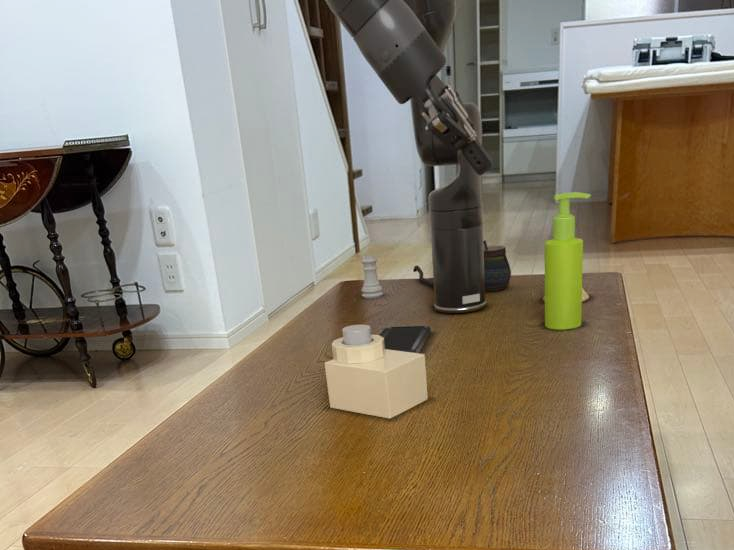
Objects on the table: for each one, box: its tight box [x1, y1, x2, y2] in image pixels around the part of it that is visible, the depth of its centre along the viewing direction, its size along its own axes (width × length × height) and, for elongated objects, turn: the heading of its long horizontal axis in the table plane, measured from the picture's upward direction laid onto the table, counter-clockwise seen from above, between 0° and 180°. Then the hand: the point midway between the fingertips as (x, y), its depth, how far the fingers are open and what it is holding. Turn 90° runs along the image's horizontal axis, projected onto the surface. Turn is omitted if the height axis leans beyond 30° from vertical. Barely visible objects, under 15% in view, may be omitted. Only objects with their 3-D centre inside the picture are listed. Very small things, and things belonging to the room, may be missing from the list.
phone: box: [378, 325, 431, 354], centre depth 131 cm, size 8×1×15 cm
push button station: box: [324, 333, 429, 419], centre depth 105 cm, size 11×8×8 cm
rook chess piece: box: [360, 253, 384, 300], centre depth 165 cm, size 4×4×8 cm
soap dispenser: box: [544, 191, 592, 331], centre depth 130 cm, size 6×7×20 cm
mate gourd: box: [483, 239, 512, 293], centre depth 161 cm, size 7×8×10 cm
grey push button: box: [341, 324, 372, 346], centre depth 104 cm, size 4×4×2 cm
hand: (486, 169), depth 106 cm, fingers closed
